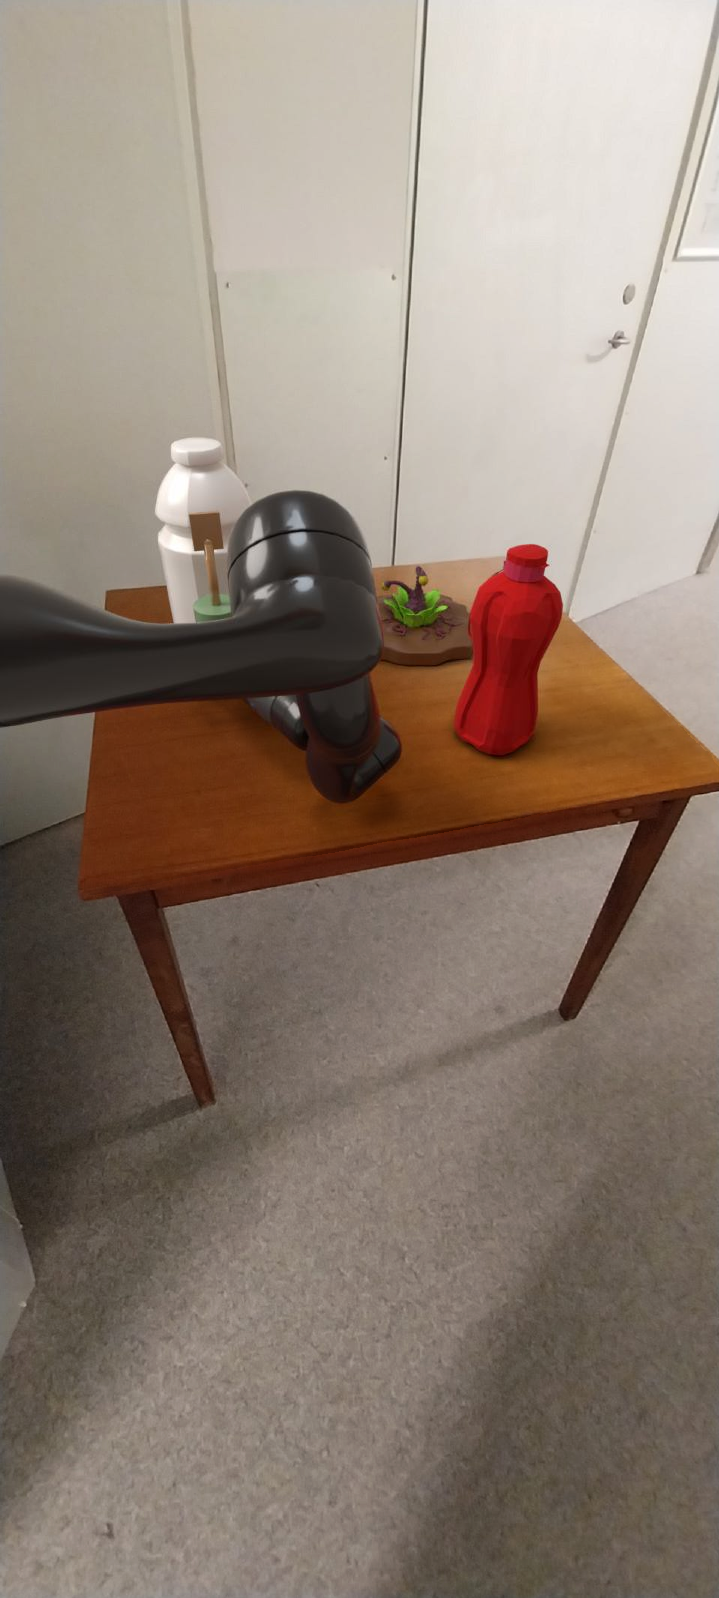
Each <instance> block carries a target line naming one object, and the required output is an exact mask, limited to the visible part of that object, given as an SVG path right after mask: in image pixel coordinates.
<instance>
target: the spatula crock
mask: <svg viewBox="0 0 719 1598" xmlns="http://www.w3.org/2000/svg"><path fill="white" fill-rule="evenodd" d="M188 515H189V522H190V528H191V535H192V541H193V548H194V551H204V554H205V561H206V568H207V575H208V582H209V589H210V595H207V596H204V597H201V598H199V599H197V600H196V601H195V602H194V604H193V610H194V616H195V622H196V623H198V622H208V621H214V620H221V619H226V618H230V617H231V608H230V598H229V595H226V594H220V592H219V585H218V577H217V570H216V562H215V554H214V550H217V549H224V546H223V538H222V530H221V522H220V513H219V511H209V512H196V513H188Z"/></svg>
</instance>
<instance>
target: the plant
mask: <svg viewBox="0 0 719 1598" xmlns="http://www.w3.org/2000/svg"><path fill="white" fill-rule="evenodd" d="M414 572H415V574H416V577H415V579H416V580H415V586H414V587H413V588H410V587H409V585H407V584H405V582H403V581H400V580H385V581H383V582H382V584H381V587H380V588H381V590H383V591H386V592H387V591H389V590H390V588H391V586H392V585H396V586H399V587H398V589H397V590H398V593H392V594H387V595H377V600H378V606H379V612H380V618H381V624H382V630H383V637H384V652H383V656H382V658H381V660H380V661H385V662H389V663H394V664H396V665H402V666H438V665H440V664H443V663H445V662H447V661H453V660H469V659H471V657H472V653H473V643H472V638H470V636H469V634H468V622H469V617H470V612H468V610H467V609H468V608H467V606H466V605H464V604H462V603H458V602H456V601H453V598H452V597H450V596H448V595H444V594H441V591H440V589H439V588H437V589H432V590H430V591H428V592H426V593H425V592H424V590H423V587H425V586H427V585H428V583H429V577H428V575H427V573H426V572H425V570H424V569H423V567H422V566H420V565H418V566H416V568H415V570H414ZM470 632H471V623H470ZM471 635H472V633H471Z"/></svg>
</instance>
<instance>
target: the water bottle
mask: <svg viewBox="0 0 719 1598" xmlns="http://www.w3.org/2000/svg"><path fill="white" fill-rule="evenodd" d="M548 557H549V550H548V549H547V548H546V547H544V546H541V545H540V544H536V543H527V544H525V543H524V544H519V545H514V546H512V547H510V548H508V549H507V551H506V556H505V560H503V566H502V569H500V570H499V571H496V572H495V573H493V574H492V575H490V577H488V579H486V580H485V581H484V582H483V583H482V584H481V585H480V586H479V587H478V589H477V592H476V595H475V597H474V600H473V603H472V606H471V609H470V611H469V613H470V617H469V622H468V634H469V636H470V638H472V643H473V649H472V653H473V659H472V661H473V662H472V666H471V669H470V671H469V674H468V676H467V678H466V681H465V683H464V685H463V688H462V689H461V690H462V691H461V693H460V695H459V698H458V700H457V705H456V709H455V712H454V717H453V726H454V732H455V734H456V735H457V736H458V737H459V738H460V739H461V740H462V741H463V742H466V743H468V744H470V745H472V746H473V747H475V748H476V749H477V750H478V751H480V752H482V753H485V754H486V755H492V756H493V755H494V756H504V755H507V754H510V753H513V752H515V751H516V750H517V749H519V748H520V747H521V746H523V745H525V744H527V742H528V741H529V739H530V738H531V736H532V735H533V734H534V732H535V730H536V725H537V720H538V714H539V679H538V678H539V676H538V675H539V674H538V673H539V668H540V666H541V662H542V661H543V658H544V656H545V654H546V652H547V650H548V649H549V647H550V645H551V643H552V640H553V639H554V637H555V635H556V633H557V631H558V629H559V626H560V624H561V621H562V618H563V609H564V602H563V597H562V593H561V591H560V589H558V586H557V585H556V584H555V583H554V582H553V581H552V580H550V579H549V578H548V577H547V576H545V572H546V568H547V567H550V564H548V563H547V562H548ZM470 623H471V632H470ZM471 633H472V635H471Z"/></svg>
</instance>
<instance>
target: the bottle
mask: <svg viewBox="0 0 719 1598" xmlns="http://www.w3.org/2000/svg"><path fill="white" fill-rule="evenodd" d="M224 458H225V455H224V448H223V444H222V443H221V442H220V441H219V440H217V439H214V438H210V437H209V438H208V437H198V436H197V437H186V438H181V439H178V440H175V441H174V442H172V443H171V445H170V459H171V461H172V462H174V464H173V465H172V466H171V467H170V468H169V469H168V471H167V473H166V474H165V475H164V478H163V479H162V481H161V483H160V485H159V488H158V491H157V495H156V501H155V505H154V515H155V516H156V518H158V519H159V521H161V523H163V524H164V525H163V526H162V528H161V530H160V531H159V532H158V533H157V543H158V544H157V546H158V549H159V553H160V558H161V563H162V568H163V574H164V579H165V584H166V590H167V595H168V596H167V597H168V601H169V606H170V611H171V616H172V621H173V623H196V622H195V616H194V610H193V604H194V602H195V601H196V600H197V599H199V598H201V597H204V596H207V595H210V589H209V582H208V575H207V568H206V561H205V554H204V551H194V548H193V541H192V535H191V528H190V522H189V515H188V513H196V512H209V511H219V513H220V522H221V530H222V538H223V546H224V549H217V550H214V554H215V562H216V570H217V577H218V585H219V592H220V594H226V595H229V588H228V579H227V549H228V543H229V539H230V535H231V531H232V529H233V527H234V525H235V523H236V521H237V519H238V518H239V517H240V515H241V514H242V513H243V512H244V511H245V510H246V509H247V508H248V507H249V506H251V505H252V504H253V502H252V500H251V497H250V494H249V493H248V490H247V489H246V486H245V485H244V483H243V482H242V481H241V479H240V478H239V477H238V475H237V474H236V473H235V472H234V471H233V470H232V469H231V468H230V467H229V466H228V465H226V464H225V463H224V462H223V461H222V460H223V459H224Z"/></svg>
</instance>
